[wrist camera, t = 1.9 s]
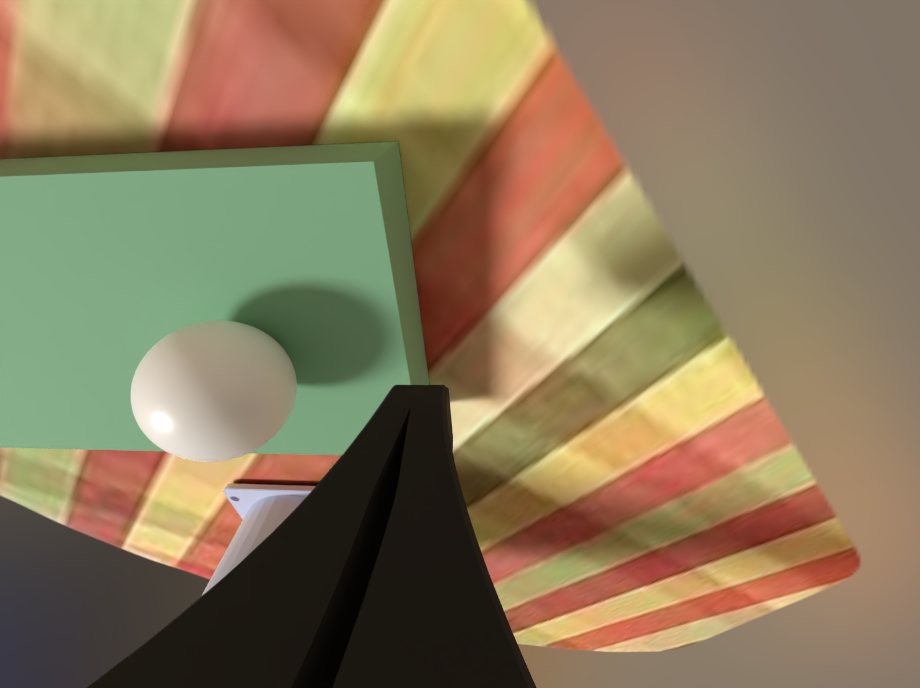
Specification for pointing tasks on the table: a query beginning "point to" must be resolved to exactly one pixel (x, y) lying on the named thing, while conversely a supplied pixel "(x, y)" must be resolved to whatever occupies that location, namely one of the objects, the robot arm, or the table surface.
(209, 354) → the ball
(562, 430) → the table surface
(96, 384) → the green board with hole
